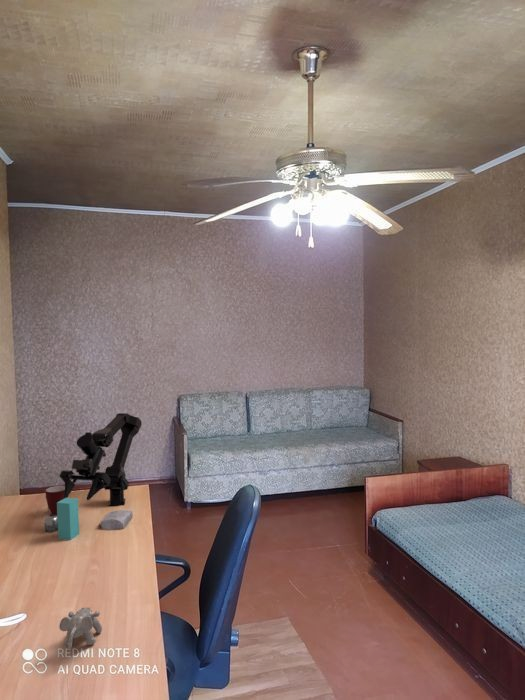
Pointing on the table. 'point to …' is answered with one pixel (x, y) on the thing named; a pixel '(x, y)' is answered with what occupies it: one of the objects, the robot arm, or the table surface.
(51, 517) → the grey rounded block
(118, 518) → the stone block
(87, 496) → the robot arm
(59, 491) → the mug
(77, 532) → the teal block
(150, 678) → the table surface
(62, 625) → the elephant statuette
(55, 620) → the table surface
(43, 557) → the table surface
